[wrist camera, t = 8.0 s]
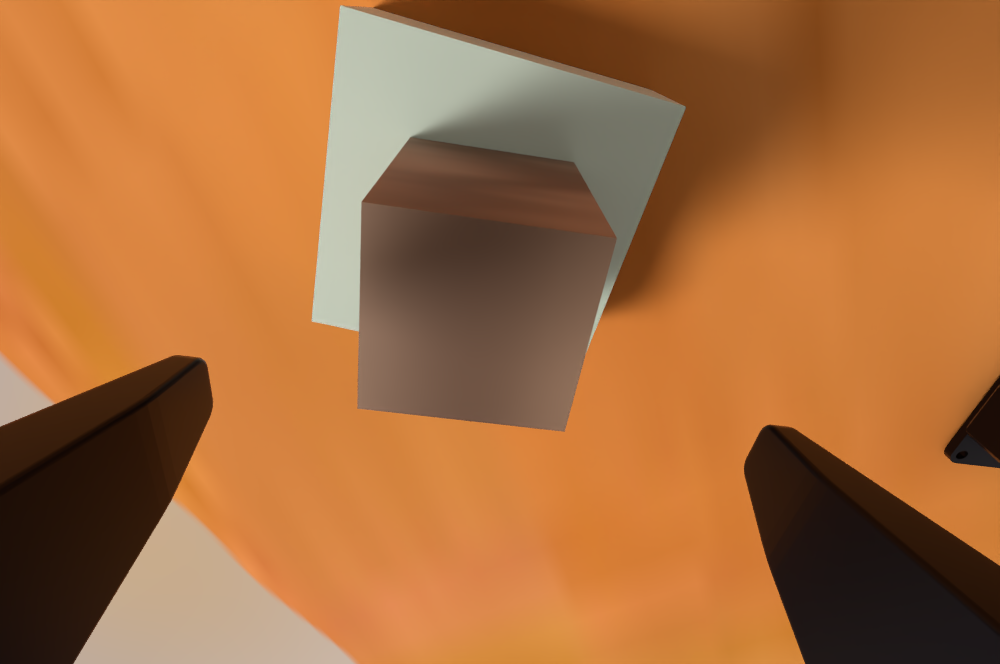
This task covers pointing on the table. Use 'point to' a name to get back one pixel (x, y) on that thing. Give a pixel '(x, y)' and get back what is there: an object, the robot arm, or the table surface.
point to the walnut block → (478, 285)
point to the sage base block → (473, 130)
